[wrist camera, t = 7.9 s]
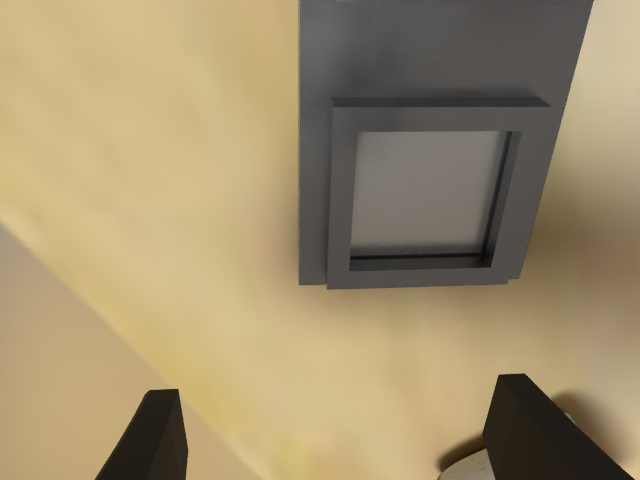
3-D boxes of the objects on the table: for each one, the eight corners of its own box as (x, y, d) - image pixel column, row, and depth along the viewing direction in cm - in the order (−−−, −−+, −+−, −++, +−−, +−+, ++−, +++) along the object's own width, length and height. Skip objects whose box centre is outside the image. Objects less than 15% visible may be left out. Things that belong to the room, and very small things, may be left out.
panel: (660, -333, 13) (718, -367, 12) (509, 264, 23) (528, 293, 21) (299, -357, 13) (303, -398, 11) (297, 270, 22) (300, 300, 20)
